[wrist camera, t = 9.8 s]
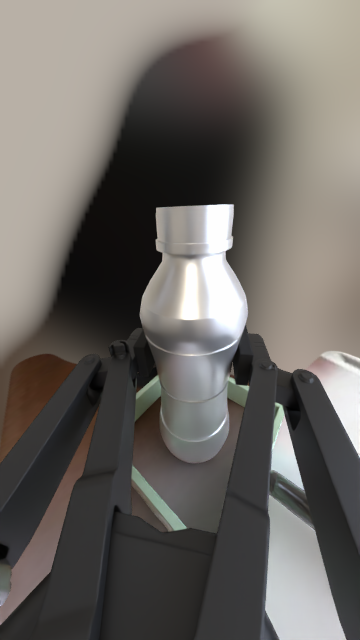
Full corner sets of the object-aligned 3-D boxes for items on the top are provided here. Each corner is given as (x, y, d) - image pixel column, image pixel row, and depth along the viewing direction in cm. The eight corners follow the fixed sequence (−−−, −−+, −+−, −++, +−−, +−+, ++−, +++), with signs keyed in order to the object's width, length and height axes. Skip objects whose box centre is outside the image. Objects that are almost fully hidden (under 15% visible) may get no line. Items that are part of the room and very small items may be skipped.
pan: (101, 447, 18) (93, 431, 17) (183, 368, 27) (182, 353, 25) (498, 946, 6) (610, 1065, 4) (413, 497, 14) (439, 481, 13)
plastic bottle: (240, 439, 18) (301, 201, 8) (187, 493, 15) (176, 206, 5) (197, 395, 23) (202, 206, 13) (149, 429, 20) (102, 210, 9)
